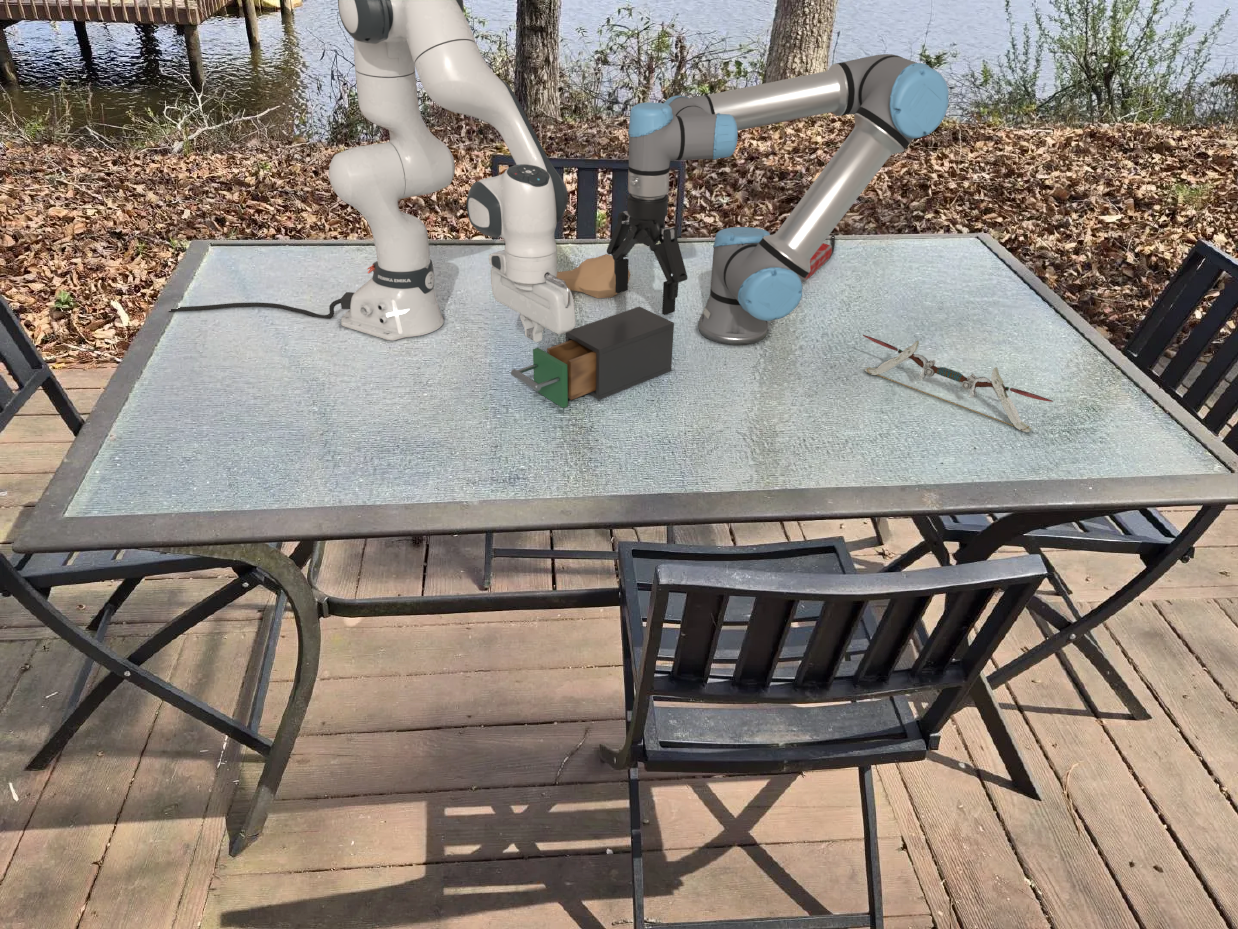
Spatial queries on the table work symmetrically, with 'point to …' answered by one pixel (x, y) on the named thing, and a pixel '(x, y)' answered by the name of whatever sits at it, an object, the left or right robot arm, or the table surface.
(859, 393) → the table surface
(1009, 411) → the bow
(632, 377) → the dark grey box
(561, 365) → the drawer
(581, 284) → the squash
